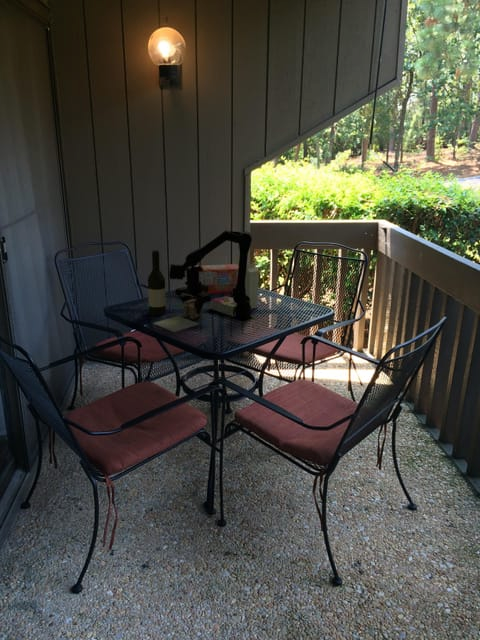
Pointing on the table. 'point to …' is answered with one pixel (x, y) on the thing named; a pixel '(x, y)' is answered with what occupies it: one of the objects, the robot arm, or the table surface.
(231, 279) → the box
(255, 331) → the table surface
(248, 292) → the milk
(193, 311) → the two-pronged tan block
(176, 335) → the table surface
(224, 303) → the candy bar box
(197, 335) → the table surface
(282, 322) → the table surface
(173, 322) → the mat
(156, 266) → the wine bottle
